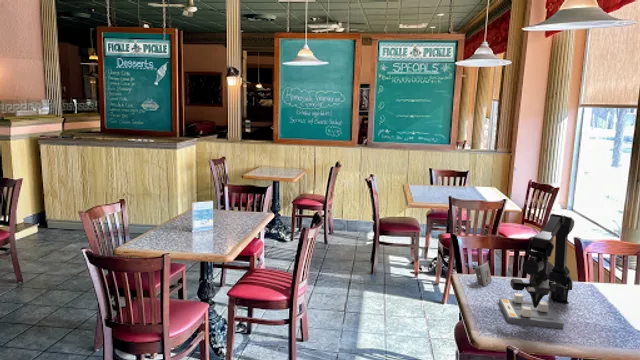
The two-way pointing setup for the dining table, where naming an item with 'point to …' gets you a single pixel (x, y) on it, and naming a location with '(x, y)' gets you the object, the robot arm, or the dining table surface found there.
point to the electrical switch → (483, 274)
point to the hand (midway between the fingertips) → (535, 307)
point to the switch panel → (537, 317)
